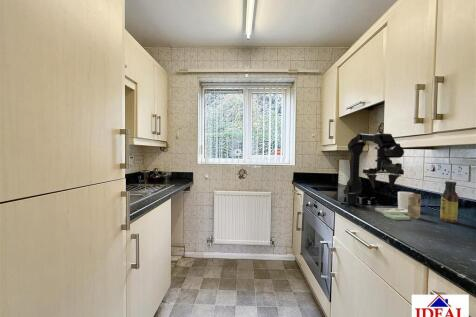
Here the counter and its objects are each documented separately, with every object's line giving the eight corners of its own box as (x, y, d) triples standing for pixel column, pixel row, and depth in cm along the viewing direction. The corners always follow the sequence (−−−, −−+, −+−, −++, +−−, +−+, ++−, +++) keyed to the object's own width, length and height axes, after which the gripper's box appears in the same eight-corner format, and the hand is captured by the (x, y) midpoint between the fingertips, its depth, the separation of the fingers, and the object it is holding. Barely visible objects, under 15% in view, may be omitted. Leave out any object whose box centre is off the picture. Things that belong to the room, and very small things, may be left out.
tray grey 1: (375, 210, 135) (375, 208, 135) (388, 210, 135) (388, 208, 135) (384, 214, 127) (384, 211, 127) (399, 214, 127) (399, 211, 127)
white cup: (406, 211, 135) (407, 193, 135) (393, 208, 143) (394, 191, 143) (416, 210, 137) (417, 193, 137) (404, 207, 145) (404, 191, 145)
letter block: (407, 216, 123) (408, 193, 123) (410, 215, 125) (411, 193, 125) (416, 218, 120) (418, 195, 119) (420, 217, 122) (421, 194, 122)
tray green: (383, 215, 125) (383, 212, 125) (398, 215, 125) (398, 212, 125) (394, 219, 117) (394, 216, 117) (410, 220, 117) (410, 217, 117)
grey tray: (390, 210, 135) (390, 208, 135) (403, 211, 136) (403, 208, 136) (400, 214, 127) (400, 211, 127) (415, 214, 128) (415, 212, 128)
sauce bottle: (439, 218, 121) (441, 180, 120) (456, 221, 117) (458, 181, 116) (440, 221, 116) (442, 181, 115) (457, 224, 112) (459, 182, 111)
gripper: (376, 157, 114) (375, 190, 114) (413, 158, 115) (412, 190, 115) (362, 157, 125) (361, 187, 125) (395, 158, 126) (395, 187, 126)
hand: (382, 188), depth 122 cm, fingers open, 9 cm apart
